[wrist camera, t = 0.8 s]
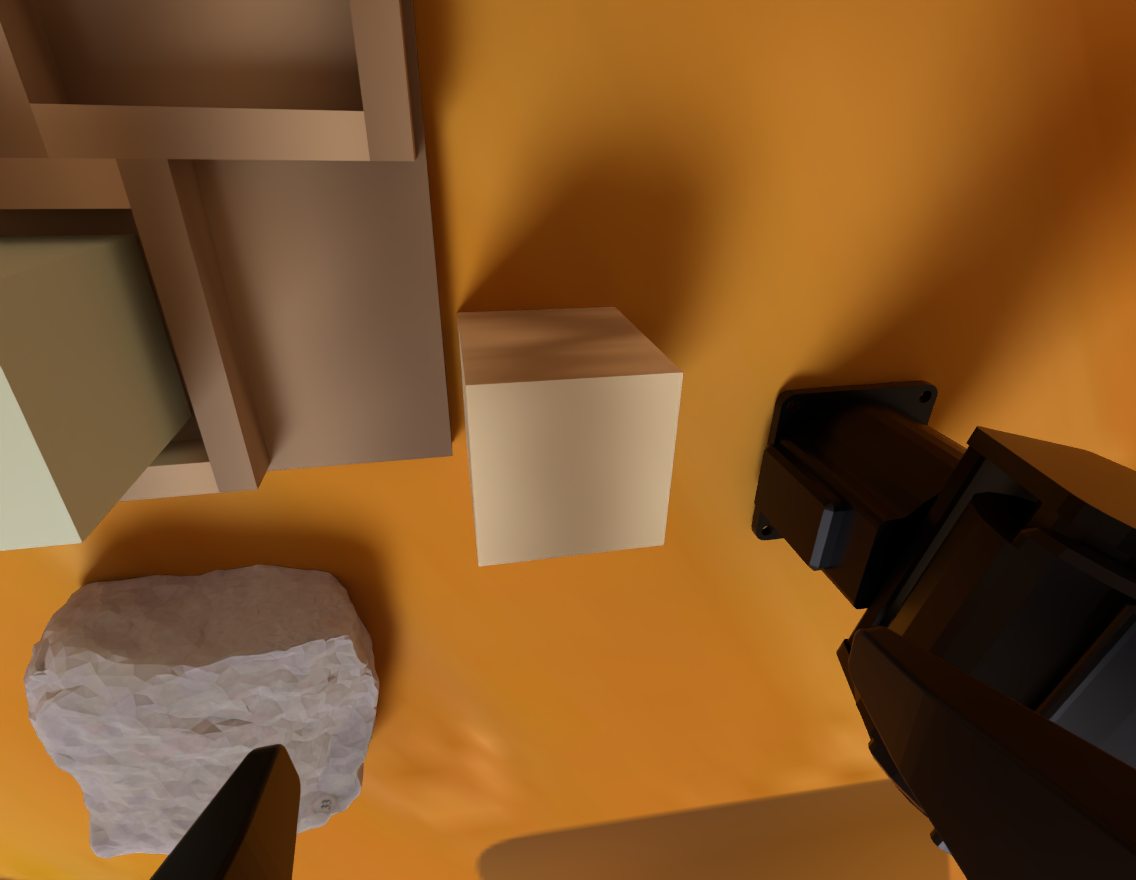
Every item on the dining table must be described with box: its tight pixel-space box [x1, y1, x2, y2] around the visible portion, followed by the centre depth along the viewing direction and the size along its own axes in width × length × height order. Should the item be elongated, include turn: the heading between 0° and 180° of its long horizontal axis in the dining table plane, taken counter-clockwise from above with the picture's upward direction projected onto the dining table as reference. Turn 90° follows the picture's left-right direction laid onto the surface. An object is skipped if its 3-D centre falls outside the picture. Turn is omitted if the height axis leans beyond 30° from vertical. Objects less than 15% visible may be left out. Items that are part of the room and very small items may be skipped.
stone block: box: [24, 564, 379, 859], centre depth 22 cm, size 12×5×10 cm
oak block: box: [457, 306, 683, 566], centre depth 17 cm, size 5×5×6 cm
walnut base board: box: [0, 0, 452, 502], centre depth 13 cm, size 14×18×2 cm
